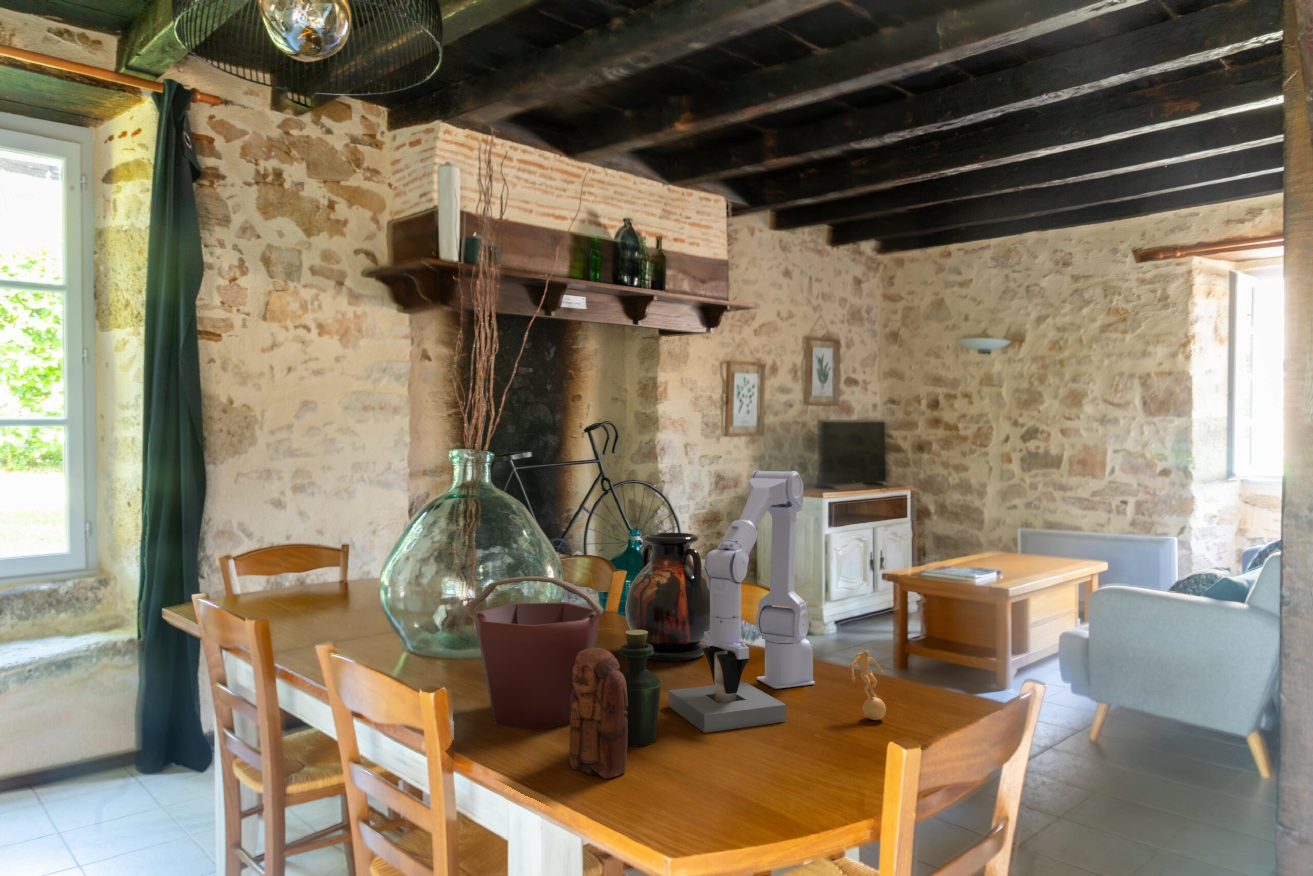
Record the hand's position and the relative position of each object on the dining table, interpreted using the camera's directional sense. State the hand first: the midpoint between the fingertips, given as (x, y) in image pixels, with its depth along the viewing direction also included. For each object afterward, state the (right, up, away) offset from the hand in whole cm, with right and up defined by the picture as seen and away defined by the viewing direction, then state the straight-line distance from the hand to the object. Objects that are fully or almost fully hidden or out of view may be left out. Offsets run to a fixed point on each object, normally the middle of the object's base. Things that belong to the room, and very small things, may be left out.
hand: (725, 689), depth 158 cm
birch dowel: (0, -3, 0) cm, 3 cm away
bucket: (-35, -5, 0) cm, 35 cm away
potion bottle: (-16, -5, -14) cm, 22 cm away
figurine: (+26, -5, -3) cm, 26 cm away
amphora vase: (-9, -5, +45) cm, 46 cm away
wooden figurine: (-22, -5, -26) cm, 34 cm away
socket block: (0, -4, 0) cm, 4 cm away
